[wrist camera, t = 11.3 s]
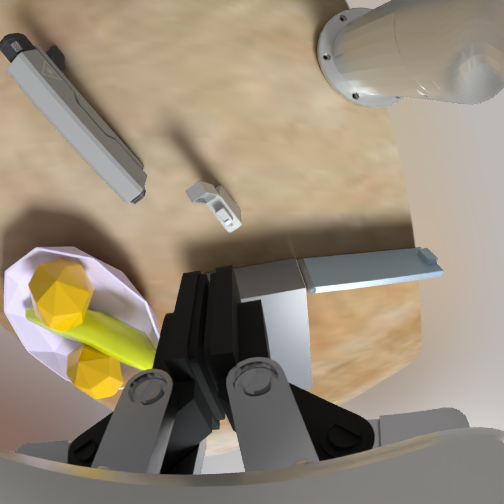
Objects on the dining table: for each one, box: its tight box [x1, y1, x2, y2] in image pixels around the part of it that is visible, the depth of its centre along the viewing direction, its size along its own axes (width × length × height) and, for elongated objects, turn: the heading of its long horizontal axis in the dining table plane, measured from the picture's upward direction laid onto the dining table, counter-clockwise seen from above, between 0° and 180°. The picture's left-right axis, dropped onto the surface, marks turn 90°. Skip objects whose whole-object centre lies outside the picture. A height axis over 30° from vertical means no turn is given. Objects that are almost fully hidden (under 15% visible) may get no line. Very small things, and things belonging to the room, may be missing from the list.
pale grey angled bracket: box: [186, 181, 241, 232], centre depth 33 cm, size 7×2×8 cm, turn 34°
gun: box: [0, 33, 147, 204], centre depth 27 cm, size 2×25×10 cm, turn 33°
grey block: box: [205, 258, 312, 390], centre depth 43 cm, size 12×21×8 cm, turn 9°
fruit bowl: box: [4, 247, 160, 399], centre depth 39 cm, size 28×27×11 cm
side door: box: [297, 247, 443, 294], centre depth 38 cm, size 2×19×7 cm, turn 94°
